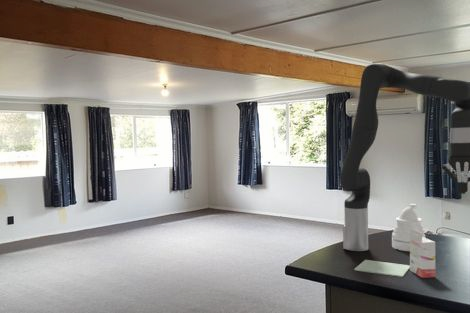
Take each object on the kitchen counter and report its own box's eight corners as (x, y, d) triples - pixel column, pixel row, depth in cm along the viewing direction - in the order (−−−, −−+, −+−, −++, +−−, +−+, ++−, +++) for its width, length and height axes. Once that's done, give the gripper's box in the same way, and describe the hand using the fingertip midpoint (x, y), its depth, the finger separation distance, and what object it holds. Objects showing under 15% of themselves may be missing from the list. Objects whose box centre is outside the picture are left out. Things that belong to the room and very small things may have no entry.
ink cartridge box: (436, 277, 144) (436, 232, 143) (421, 278, 143) (421, 233, 143) (423, 269, 152) (423, 227, 152) (409, 270, 152) (409, 228, 151)
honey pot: (427, 245, 184) (427, 202, 183) (422, 252, 173) (422, 207, 173) (395, 242, 191) (395, 200, 190) (388, 249, 180) (388, 205, 179)
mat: (354, 270, 153) (354, 269, 153) (365, 260, 164) (365, 259, 164) (402, 277, 145) (402, 275, 145) (410, 266, 156) (410, 265, 156)
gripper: (439, 142, 147) (439, 194, 147) (484, 141, 140) (485, 195, 141) (441, 141, 153) (442, 191, 154) (485, 140, 146) (486, 192, 147)
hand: (462, 193), depth 147 cm, fingers closed
